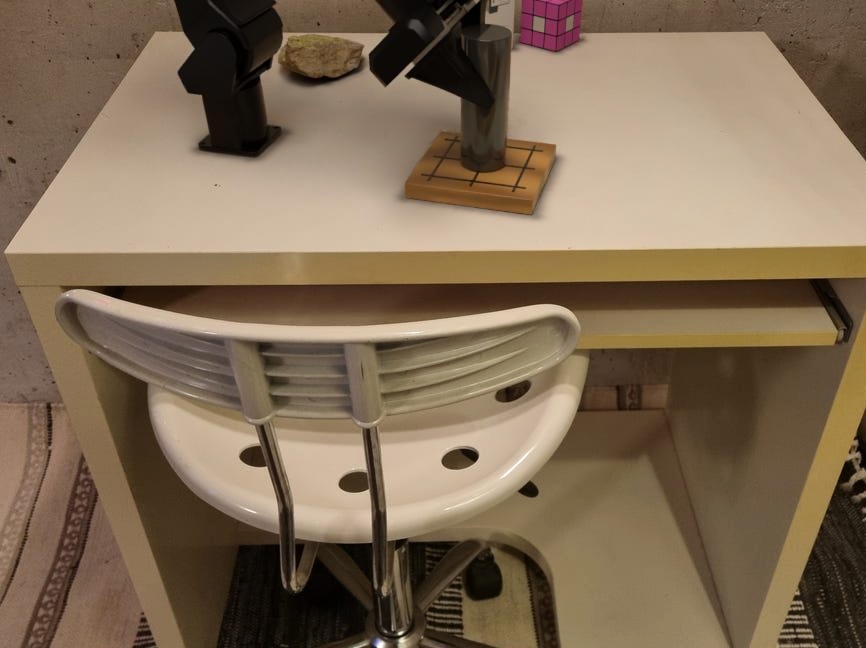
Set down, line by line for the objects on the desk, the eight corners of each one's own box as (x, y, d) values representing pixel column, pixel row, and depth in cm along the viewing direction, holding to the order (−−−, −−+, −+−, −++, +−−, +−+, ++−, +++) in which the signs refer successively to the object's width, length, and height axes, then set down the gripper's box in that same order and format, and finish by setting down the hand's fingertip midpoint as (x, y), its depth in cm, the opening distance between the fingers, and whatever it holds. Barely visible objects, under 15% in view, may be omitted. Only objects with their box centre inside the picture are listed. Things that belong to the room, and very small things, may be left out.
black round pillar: (465, 174, 79) (467, 41, 71) (456, 153, 82) (456, 24, 74) (511, 170, 79) (517, 38, 71) (499, 149, 83) (504, 22, 75)
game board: (531, 215, 76) (532, 199, 75) (405, 197, 78) (404, 182, 77) (555, 158, 85) (556, 143, 84) (441, 144, 87) (440, 129, 86)
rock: (354, 89, 98) (356, 56, 96) (266, 75, 97) (267, 41, 95) (366, 63, 109) (369, 33, 107) (288, 50, 108) (289, 20, 106)
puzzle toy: (543, 31, 114) (546, -14, 110) (579, 40, 112) (583, -6, 108) (519, 42, 111) (521, -4, 107) (555, 52, 108) (559, 5, 104)
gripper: (398, -99, 59) (541, 77, 64) (474, -143, 73) (587, 5, 78) (308, 7, 66) (444, 159, 71) (393, -51, 80) (502, 80, 85)
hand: (499, 95), depth 76 cm, fingers closed on black round pillar, 4 cm apart
